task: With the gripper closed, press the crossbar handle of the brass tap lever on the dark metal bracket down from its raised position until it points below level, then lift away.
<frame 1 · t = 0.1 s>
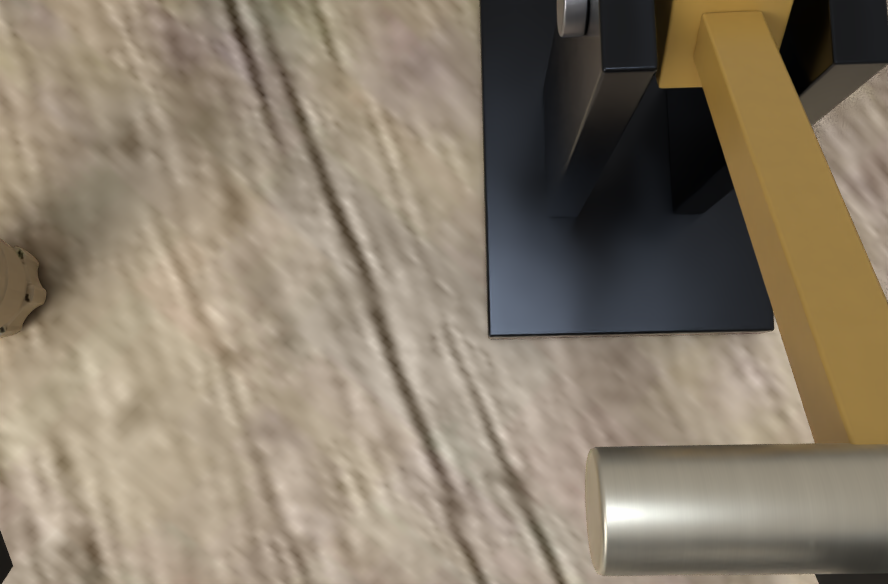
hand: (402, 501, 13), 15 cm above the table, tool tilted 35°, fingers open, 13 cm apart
lever: (775, 167, 13), point 15 cm above the table, hinge at 34.0°, touching gripper
handle: (8, 292, 29), on the table
bracket: (616, 159, 29), on the table
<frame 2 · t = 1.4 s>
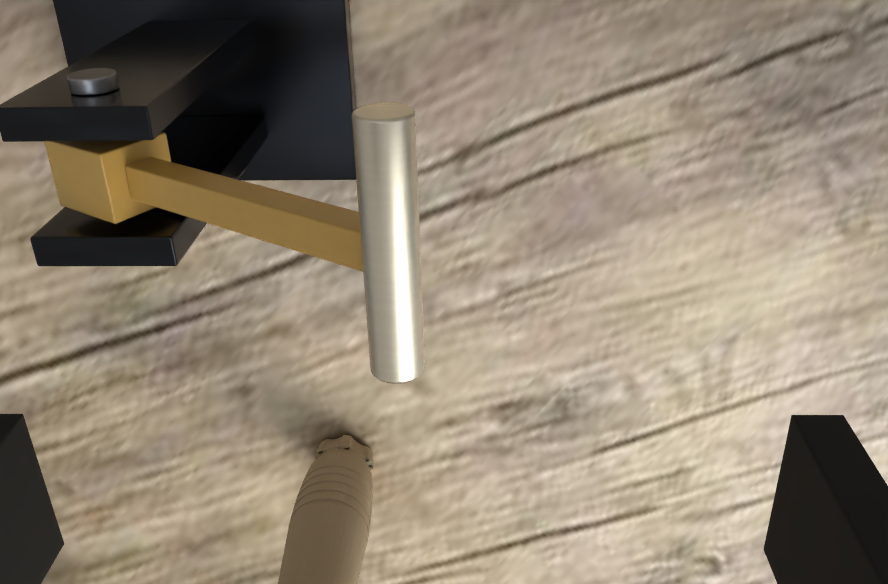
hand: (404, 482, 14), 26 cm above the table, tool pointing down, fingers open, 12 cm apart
lever: (226, 202, 24), point 15 cm above the table, hinge at 32.4°
handle: (345, 452, 47), on the table
bracket: (217, 74, 37), on the table
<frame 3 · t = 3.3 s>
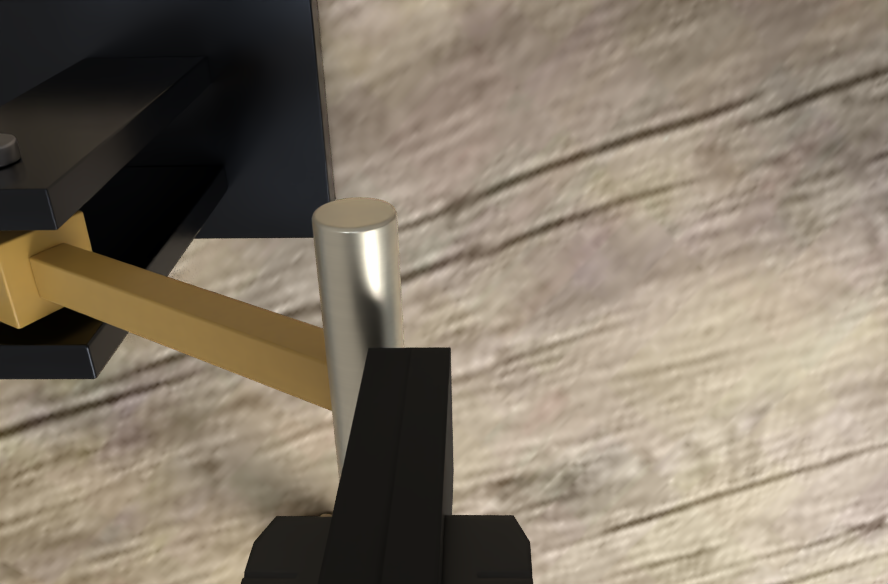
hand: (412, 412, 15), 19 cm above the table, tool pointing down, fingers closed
lever: (157, 307, 19), point 15 cm above the table, hinge at 30.5°, touching gripper
bracket: (168, 117, 32), on the table
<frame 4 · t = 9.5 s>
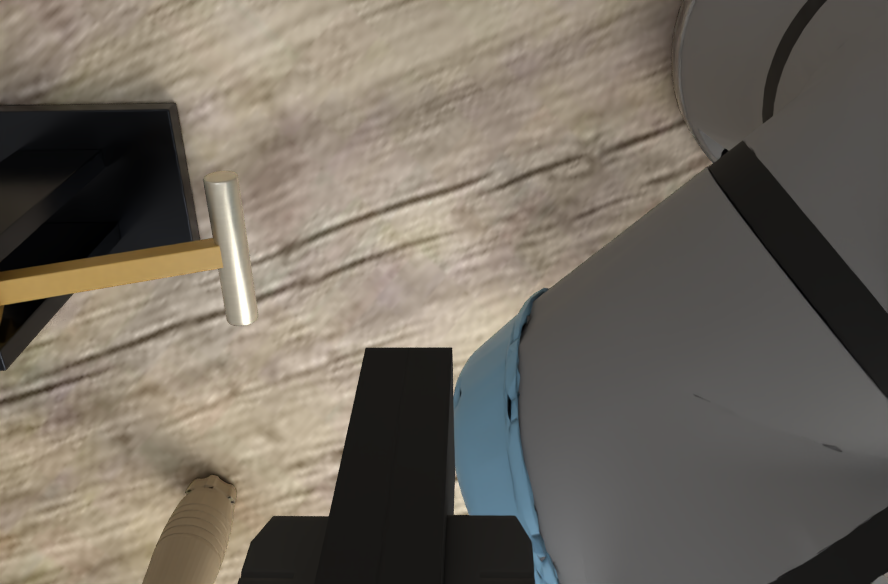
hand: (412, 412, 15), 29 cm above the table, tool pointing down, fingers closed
lever: (92, 273, 36), point 10 cm above the table, hinge at -21.7°
handle: (215, 489, 55), on the table
bracket: (79, 187, 45), on the table
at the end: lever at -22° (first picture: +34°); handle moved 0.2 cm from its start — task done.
